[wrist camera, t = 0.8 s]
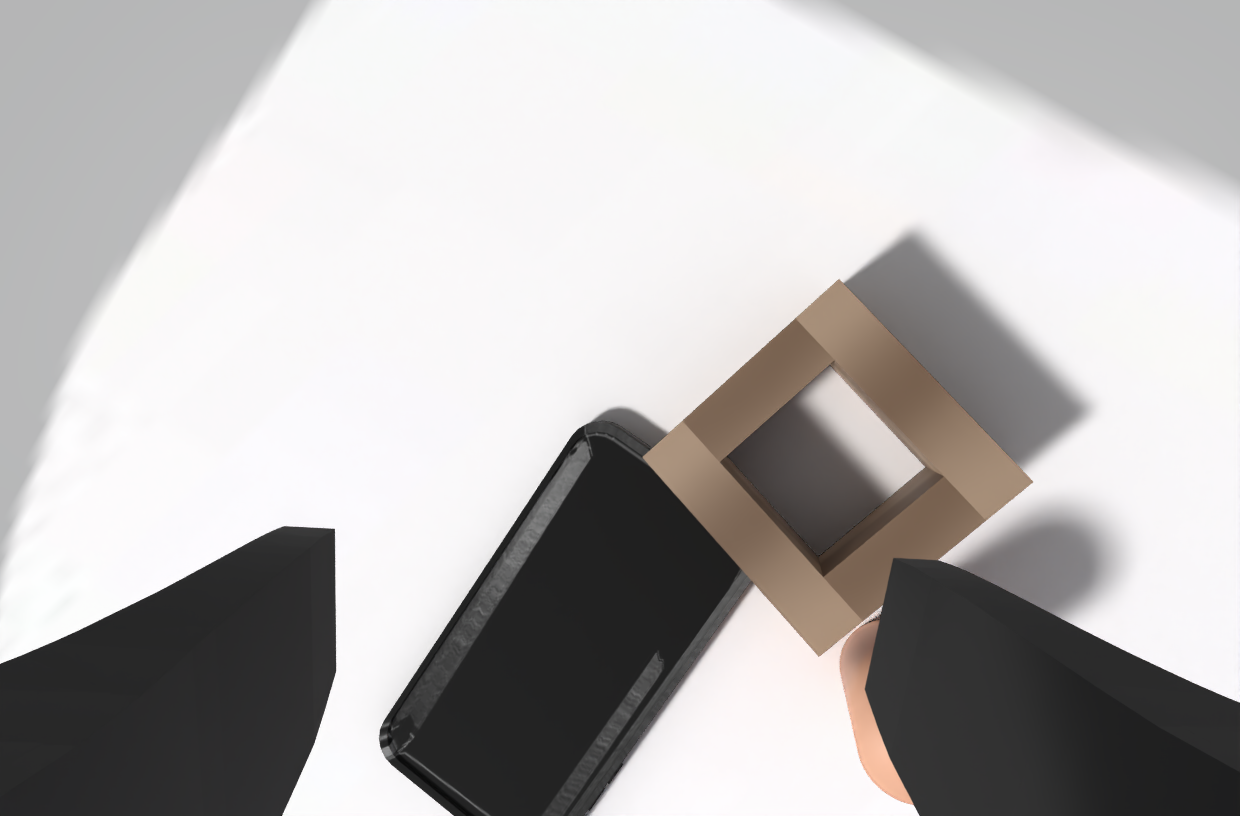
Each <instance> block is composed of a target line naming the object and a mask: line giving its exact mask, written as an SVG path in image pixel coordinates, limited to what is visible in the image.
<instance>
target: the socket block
mask: <svg viewBox="0 0 1240 816" xmlns="http://www.w3.org/2000/svg"><path fill="white" fill-rule="evenodd" d="M829 365H830V366H831V367H832V368H833V369H834V370H835V371H836V372H837V373H838V374H839V375H840V377H841V378H842V379H843V380H844V381H845V382H846V383H847V384H848V385H849V386H850V387H851V388H852V389H853V390H854V391H855V392H856V394H857V395H858V396H859V397H860V398H861V399H862V400H863V401H864V402H865V403H866V404H867V405H868V406H869V407H870V408H871V410H872V411H873V412H874V413H875V414H876V415H877V416H878V417H879V418H880V419H881V420H882V421H883V422H884V423H885V424H886V425H887V427H888V428H889V429H890V430H891V431H892V432H893V433H894V434H895V435H896V436H897V437H898V438H899V439H900V440H901V441H902V442H903V444H904V445H905V446H906V447H907V448H908V449H909V450H910V451H911V452H912V453H913V454H914V455H915V456H916V457H917V458H918V460H919V461H920V462H921V463H922V464H923V465H924V466H925V468H924V469H923V470H922V471H921V472H919V473H918V474H917V475H916V476H915V477H913V478H912V479H911V480H910V481H909V482H907V483H906V484H905V485H904V486H903V487H901V488H900V489H899V490H898V491H897V492H896V493H894V494H893V495H892V496H891V497H890V498H888V499H887V500H886V501H885V502H884V503H882V504H881V505H880V506H879V507H878V508H876V509H875V510H874V511H873V512H872V513H871V514H869V515H868V516H867V517H866V518H865V519H863V520H862V521H861V522H860V523H859V524H857V525H856V526H855V527H854V528H853V529H852V530H850V531H849V532H848V533H847V534H846V535H844V536H843V537H842V538H841V539H840V540H838V541H837V542H836V543H835V544H834V545H832V546H831V547H830V548H829V549H828V550H827V551H825V552H824V553H823V554H822V555H821V556H819V557H818V556H817V555H816V554H815V553H814V552H813V551H812V550H811V549H810V548H809V546H808V545H807V544H806V543H805V542H804V541H803V540H802V539H801V538H800V537H799V535H798V534H797V533H796V532H795V531H794V530H793V529H792V528H791V527H790V525H789V524H788V523H787V522H786V521H785V520H784V519H783V518H782V517H781V515H780V514H779V513H778V512H777V511H776V510H775V509H774V508H773V507H772V506H771V504H770V503H769V502H768V501H767V500H766V499H765V498H764V497H763V496H762V494H761V493H760V492H759V491H758V490H757V489H756V488H755V487H754V486H753V484H752V483H751V482H750V481H749V480H748V479H747V478H746V477H745V476H744V474H743V473H742V472H741V471H740V470H739V469H738V468H737V467H736V466H735V465H734V463H733V462H732V461H731V460H730V459H729V458H728V457H727V455H728V454H729V453H731V452H732V451H733V450H734V449H735V448H736V447H737V446H738V445H740V444H741V443H742V442H743V441H744V440H745V439H746V438H747V437H749V436H750V435H751V434H752V433H753V432H754V431H755V430H756V429H758V428H759V427H760V426H761V425H762V424H763V423H764V422H765V421H767V420H768V419H769V418H770V417H771V416H772V415H773V414H775V413H776V412H777V411H778V410H779V409H780V408H781V407H782V406H784V405H785V404H786V403H787V402H788V401H789V400H790V399H791V398H793V397H794V396H795V395H796V394H797V393H798V392H799V391H800V390H802V389H803V388H804V387H805V386H806V385H807V384H808V383H809V382H811V381H812V380H813V379H814V378H815V377H816V376H817V375H818V374H820V373H821V372H822V371H823V370H824V369H825V368H826V367H828V366H829ZM642 458H643V459H644V460H645V461H646V462H647V463H648V464H649V466H650V467H651V468H652V469H653V470H654V471H655V472H656V473H657V475H658V476H659V477H660V478H661V479H662V480H663V481H664V482H665V484H666V485H667V486H668V487H669V488H670V489H671V490H672V491H673V493H674V494H675V495H676V496H677V497H678V498H679V499H680V501H681V502H682V503H683V504H684V505H685V506H686V507H687V508H688V510H689V511H690V512H691V513H692V514H693V515H694V516H695V517H696V519H697V520H698V521H699V522H700V523H701V524H702V525H703V526H704V528H705V529H706V530H707V531H708V532H709V533H710V534H711V535H712V537H713V538H714V539H715V540H716V541H717V542H718V543H719V545H720V546H721V547H722V548H723V549H724V550H725V551H726V552H727V554H728V555H729V556H730V557H731V558H732V559H733V560H734V561H735V563H736V564H737V565H738V566H739V567H740V568H741V569H742V570H743V572H744V573H745V574H746V575H747V576H748V577H749V578H750V579H751V581H752V582H753V583H754V584H755V585H756V586H757V587H758V589H759V590H760V591H761V592H762V593H763V594H764V595H765V596H766V598H767V599H768V600H769V601H770V602H771V603H772V604H773V605H774V607H775V608H776V609H777V610H778V611H779V612H780V613H781V614H782V616H783V617H784V618H785V619H786V620H787V621H788V622H789V623H790V625H791V626H792V627H793V628H794V629H795V630H796V631H797V633H798V634H799V635H800V636H801V637H802V638H803V639H804V640H805V642H806V643H807V644H808V645H809V646H810V647H811V648H812V649H813V651H814V652H815V653H816V654H817V655H818V656H821V655H822V654H823V653H824V652H826V651H827V650H828V649H829V648H830V647H832V646H833V645H834V644H835V643H837V642H838V641H839V640H840V639H842V638H843V637H844V636H845V635H846V634H848V633H849V632H850V631H851V630H853V629H854V628H855V627H856V626H857V625H859V624H860V623H861V622H862V621H864V620H865V619H866V618H867V617H868V616H870V615H871V614H872V613H873V612H875V611H876V610H877V609H878V608H880V607H881V606H882V605H883V602H884V598H885V593H886V589H887V584H888V580H889V575H890V570H891V566H892V561H893V558H907V559H926V560H938V559H940V558H941V557H942V556H943V555H944V554H946V553H947V552H948V551H949V550H951V549H952V548H953V547H954V546H956V545H957V544H958V543H959V542H960V541H962V540H963V539H964V538H965V537H967V536H968V535H969V534H970V533H971V532H973V531H974V530H975V529H976V528H978V527H979V526H980V525H981V524H982V523H984V522H985V521H986V520H987V519H989V518H990V517H991V516H992V515H994V514H995V513H996V512H997V511H998V510H1000V509H1001V508H1002V507H1003V506H1005V505H1006V504H1007V503H1008V502H1009V501H1011V500H1012V499H1013V498H1014V497H1016V496H1017V495H1018V494H1019V493H1020V492H1022V491H1023V490H1024V489H1025V488H1027V487H1028V486H1029V485H1030V484H1032V483H1033V481H1032V480H1031V479H1030V478H1029V477H1028V476H1027V475H1026V474H1025V473H1024V472H1023V470H1022V469H1021V468H1020V467H1019V466H1018V465H1017V464H1016V463H1015V462H1014V461H1013V460H1012V459H1011V458H1010V457H1009V456H1008V455H1007V454H1006V453H1005V452H1004V451H1003V450H1002V449H1001V448H1000V446H999V445H998V444H997V443H996V442H995V441H994V440H993V439H992V438H991V437H990V436H989V435H988V434H987V433H986V432H985V431H984V430H983V429H982V428H981V427H980V426H979V425H978V424H977V422H976V421H975V420H974V419H973V418H972V417H971V416H970V415H969V414H968V413H967V412H966V411H965V410H964V409H963V408H962V407H961V406H960V405H959V404H958V403H957V402H956V401H955V400H954V398H953V397H952V396H951V395H950V394H949V393H948V392H947V391H946V390H945V389H944V388H943V387H942V386H941V385H940V384H939V383H938V382H937V381H936V380H935V379H934V378H933V377H932V376H931V374H930V373H929V372H928V371H927V370H926V369H925V368H924V367H923V366H922V365H921V364H920V363H919V362H918V361H917V360H916V359H915V358H914V357H913V356H912V355H911V354H910V353H909V351H908V350H907V349H906V348H905V347H904V346H903V345H902V344H901V343H900V342H899V341H898V340H897V339H896V338H895V337H894V336H893V335H892V334H891V333H890V332H889V331H888V330H887V329H886V327H885V326H884V325H883V324H882V323H881V322H880V321H879V320H878V319H877V318H876V317H875V316H874V315H873V314H872V313H871V312H870V311H869V310H868V309H867V308H866V307H865V306H864V305H863V303H862V302H861V301H860V300H859V299H858V298H857V297H856V296H855V295H854V294H853V293H852V292H851V291H850V290H849V289H848V288H847V287H846V286H845V285H844V284H843V283H842V282H841V281H840V279H839V280H837V281H836V282H835V283H834V284H833V285H832V286H831V287H830V288H829V289H827V290H826V291H825V292H824V293H823V294H822V295H821V296H820V297H819V298H818V299H816V300H815V301H814V302H813V303H812V304H811V305H810V306H809V307H808V308H807V309H805V310H804V311H803V312H802V313H801V314H800V315H799V316H798V317H797V318H795V319H794V320H793V321H792V322H791V323H790V324H789V325H788V326H787V327H786V328H784V329H783V330H782V331H781V332H780V333H779V334H778V335H777V336H776V337H775V338H773V339H772V340H771V341H770V342H769V343H768V344H767V345H766V346H765V347H763V348H762V349H761V350H760V351H759V352H758V353H757V354H756V355H755V356H754V357H752V358H751V359H750V360H749V361H748V362H747V363H746V364H745V365H744V366H742V367H741V368H740V369H739V370H738V371H737V372H736V373H735V374H734V375H733V376H731V377H730V378H729V379H728V380H727V381H726V382H725V383H724V384H723V385H722V386H720V387H719V388H718V389H717V390H716V391H715V392H714V393H713V394H712V395H710V396H709V397H708V398H707V399H706V400H705V401H704V402H703V403H702V404H701V405H699V406H698V407H697V408H696V409H695V410H694V411H693V412H692V413H691V414H690V415H688V416H687V417H686V418H685V419H684V420H683V421H682V422H681V423H680V424H678V425H677V426H676V427H675V428H674V429H673V430H672V431H671V432H670V433H669V434H667V435H666V436H665V437H664V438H663V439H662V440H661V441H660V442H659V443H657V444H656V445H655V446H654V447H653V448H652V449H651V450H650V451H649V452H648V453H646V454H645V455H644V456H643V457H642Z"/></svg>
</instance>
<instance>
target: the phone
mask: <svg viewBox="0 0 1240 816" xmlns="http://www.w3.org/2000/svg"><path fill="white" fill-rule="evenodd" d="M651 449H652V448H651V447H650V446H649V445H647V444H646V443H644V442H643V441H641V440H640V439H638V438H637V437H636V436H634V435H633V434H631V433H630V432H628V431H627V430H626V429H624V428H623V427H621V426H619V425H617V424H615V423H613V422H607V421H599V422H594V423H588V424H586V425H584V426H582V427H581V428H579V429H578V430H577V431H576V432H575V433H574V434H573V435H572V436H571V438H570V439H569V441H568V442H567V444H566V445H565V447H564V448H563V450H562V452H561V453H560V455H559V456H558V458H557V459H556V461H555V462H554V464H553V465H552V467H551V468H550V470H549V471H548V473H547V474H546V476H545V477H544V479H543V480H542V482H541V483H540V485H539V486H538V488H537V489H536V491H535V492H534V494H533V496H532V497H531V499H530V500H529V502H528V503H527V505H526V506H525V508H524V509H523V511H522V512H521V514H520V515H519V517H518V518H517V520H516V521H515V523H514V524H513V526H512V527H511V529H510V530H509V532H508V533H507V535H506V536H505V538H504V540H503V541H502V543H501V544H500V546H499V547H498V549H497V550H496V552H495V553H494V555H493V556H492V558H491V559H490V561H489V562H488V564H487V565H486V567H485V568H484V570H483V571H482V573H481V574H480V576H479V577H478V579H477V580H476V582H475V583H474V585H473V587H472V588H471V590H470V591H469V593H468V594H467V596H466V597H465V599H464V600H463V602H462V603H461V605H460V606H459V608H458V609H457V611H456V612H455V614H454V615H453V617H452V618H451V620H450V621H449V623H448V624H447V626H446V627H445V629H444V631H443V632H442V634H441V635H440V637H439V638H438V640H437V641H436V643H435V644H434V646H433V647H432V649H431V650H430V652H429V653H428V655H427V656H426V658H425V659H424V661H423V662H422V664H421V665H420V667H419V668H418V670H417V671H416V673H415V675H414V676H413V678H412V679H411V681H410V682H409V684H408V685H407V687H406V688H405V690H404V691H403V693H402V694H401V696H400V697H399V699H398V700H397V702H396V703H395V705H394V706H393V708H392V709H391V711H390V712H389V714H388V715H387V717H386V718H385V720H384V722H383V724H382V726H381V729H380V735H379V741H380V747H381V750H382V752H383V754H384V756H385V758H386V759H387V760H388V761H389V762H390V763H391V765H392V766H394V767H395V768H396V769H397V770H399V771H400V772H401V773H402V774H403V775H405V776H406V777H407V778H408V779H410V780H411V781H412V782H413V783H414V784H416V785H417V786H418V787H419V788H421V789H422V790H423V791H424V792H425V793H427V794H428V795H429V796H430V797H432V798H433V799H434V800H435V801H436V802H438V803H439V804H440V805H441V806H443V807H444V808H445V809H446V810H447V811H449V812H450V813H451V814H452V815H454V816H584V815H585V813H586V812H587V811H588V810H589V811H590V809H591V808H592V806H593V805H594V804H595V802H596V801H597V799H598V798H599V797H600V795H601V794H602V792H603V791H604V789H605V788H604V787H605V785H606V784H607V783H608V784H609V783H610V782H611V781H612V779H613V778H614V776H615V775H616V774H617V772H618V771H619V769H620V768H621V767H622V765H623V763H622V762H623V760H624V759H625V757H626V756H627V755H628V753H629V752H630V750H631V749H632V747H633V746H634V745H635V743H636V742H637V740H638V739H639V738H640V736H641V735H642V733H643V732H644V731H645V729H646V728H647V726H648V725H649V724H650V722H651V721H652V719H653V718H654V717H655V715H656V714H657V712H658V711H659V710H660V708H661V707H662V705H663V704H664V703H665V701H666V700H667V698H668V697H669V696H670V694H671V693H672V691H673V690H674V689H675V687H676V686H677V684H678V683H679V682H680V680H681V679H682V677H683V676H684V674H685V673H686V672H687V670H688V669H689V667H690V666H691V665H692V663H693V662H694V660H695V659H696V658H697V656H698V655H699V653H700V652H701V651H702V649H703V648H704V646H705V645H706V644H707V642H708V641H709V639H710V638H711V637H712V635H713V634H714V632H715V631H716V630H717V628H718V627H719V625H720V624H721V623H722V621H723V620H724V618H725V617H726V616H727V614H728V613H729V611H730V610H731V609H732V607H733V606H734V604H735V603H736V601H737V600H738V599H739V597H740V596H741V594H742V593H743V592H744V590H745V589H746V587H747V586H748V585H749V583H750V582H751V579H750V578H749V577H748V576H747V575H746V574H745V573H744V572H743V570H742V569H741V568H740V567H739V566H738V565H737V564H736V563H735V561H734V560H733V559H732V558H731V557H730V556H729V555H728V554H727V552H726V551H725V550H724V549H723V548H722V547H721V546H720V545H719V543H718V542H717V541H716V540H715V539H714V538H713V537H712V535H711V534H710V533H709V532H708V531H707V530H706V529H705V528H704V526H703V525H702V524H701V523H700V522H699V521H698V520H697V519H696V517H695V516H694V515H693V514H692V513H691V512H690V511H689V510H688V508H687V507H686V506H685V505H684V504H683V503H682V502H681V501H680V499H679V498H678V497H677V496H676V495H675V494H674V493H673V491H672V490H671V489H670V488H669V487H668V486H667V485H666V484H665V482H664V481H663V480H662V479H661V478H660V477H659V476H658V475H657V473H656V472H655V471H654V470H653V469H652V468H651V467H650V466H649V464H648V463H647V462H646V461H645V460H644V459H643V458H642V457H643V456H644V455H645V454H646V453H648V452H649V451H650V450H651Z"/></svg>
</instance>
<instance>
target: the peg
mask: <svg viewBox="0 0 1240 816" xmlns="http://www.w3.org/2000/svg"><path fill="white" fill-rule="evenodd" d="M879 621H880V620H877V621H872V622H870V623H867V624H865V625H863V626H861V627H860V628H858V629H857V630H856V631H854V632H853V633H852V634H851V635H850V637H849V638H848V639H847V641H846V643H845V644H844V647H843V649H842V652H841V656H840V673H841V678H842V683H843V687H844V692H845V696H846V701H847V705H848V710H849V714H850V719H851V723H852V728H853V732H854V737H855V741H856V746H857V750H858V754H859V758H860V761H861V763H862V765H863V768H864V769H865V771H866V773H867V775H868V776H869V777H870V779H871V780H872V781H873V782H874V783H875V784H876V785H877V786H878V787H879V788H880V789H881V790H882V791H884V792H885V793H886V794H888V795H890V796H891V797H893V798H895V799H897V800H899V801H902V802H905V803H908V804H912V805H914V804H913V802H912V800H911V798H910V796H909V795H908V793H907V791H906V789H905V787H904V785H903V783H902V781H901V779H900V778H899V776H898V774H897V772H896V770H895V768H894V766H893V764H892V762H891V760H890V758H889V755H888V753H887V750H886V748H885V745H884V742H883V740H882V737H881V735H880V732H879V730H878V727H877V724H876V721H875V718H874V715H873V712H872V710H871V707H870V704H869V701H868V698H867V695H866V692H865V685H866V680H867V676H868V671H869V666H870V662H871V657H872V653H873V648H874V644H875V639H876V634H877V630H878V625H879Z"/></svg>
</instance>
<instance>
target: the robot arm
mask: <svg viewBox="0 0 1240 816" xmlns="http://www.w3.org/2000/svg"><path fill="white" fill-rule="evenodd" d="M335 673H336V604H335V529H327V528H308V527H288V526H283V527H281V528H278V529H276V530H273V531H271V532H269V533H267V534H265V535H263V536H261V537H259V538H257V539H255V540H253V541H251V542H249V543H247V544H246V545H244V546H242V547H240V548H238V549H236V550H235V551H233V552H231V553H229V554H227V555H225V556H224V557H222V558H220V559H218V560H216V561H214V562H213V563H211V564H209V565H207V566H205V567H203V568H201V569H200V570H198V571H196V572H194V573H192V574H190V575H188V576H187V577H185V578H183V579H181V580H179V581H177V582H175V583H174V584H172V585H170V586H168V587H166V588H164V589H162V590H160V591H158V592H157V593H155V594H152V595H150V596H148V597H146V598H144V599H142V600H140V601H138V602H136V603H134V604H132V605H130V606H128V607H126V608H124V609H122V610H120V611H118V612H116V613H114V614H112V615H109V616H107V617H105V618H103V619H101V620H99V621H97V622H95V623H93V624H91V625H89V626H87V627H85V628H83V629H81V630H79V631H77V632H75V633H72V634H70V635H68V636H66V637H63V638H61V639H59V640H57V641H54V642H52V643H50V644H47V645H45V646H43V647H40V648H38V649H36V650H33V651H31V652H29V653H26V654H24V655H22V656H19V657H17V658H14V659H11V660H9V661H6V662H4V663H1V664H0V816H282V815H283V812H284V810H285V808H286V806H287V804H288V801H289V799H290V797H291V795H292V792H293V790H294V788H295V786H296V784H297V781H298V779H299V777H300V775H301V772H302V770H303V768H304V766H305V764H306V761H307V759H308V757H309V754H310V752H311V750H312V748H313V745H314V743H315V739H316V736H317V733H318V730H319V727H320V724H321V720H322V717H323V714H324V711H325V708H326V704H327V701H328V697H329V694H330V690H331V687H332V684H333V680H334V677H335ZM865 692H866V695H867V698H868V701H869V704H870V707H871V710H872V712H873V715H874V718H875V721H876V724H877V727H878V730H879V732H880V735H881V737H882V740H883V742H884V745H885V748H886V750H887V753H888V755H889V758H890V760H891V762H892V764H893V766H894V768H895V770H896V772H897V774H898V776H899V778H900V779H901V781H902V783H903V785H904V787H905V789H906V791H907V793H908V795H909V796H910V798H911V800H912V802H913V804H914V806H915V808H916V810H917V812H918V814H919V815H920V816H1240V703H1239V702H1237V701H1234V700H1232V699H1229V698H1227V697H1224V696H1222V695H1220V694H1217V693H1215V692H1213V691H1211V690H1208V689H1206V688H1204V687H1201V686H1199V685H1197V684H1194V683H1192V682H1190V681H1188V680H1186V679H1183V678H1181V677H1179V676H1177V675H1175V674H1173V673H1171V672H1168V671H1166V670H1164V669H1162V668H1160V667H1158V666H1156V665H1154V664H1151V663H1149V662H1147V661H1145V660H1143V659H1141V658H1139V657H1137V656H1134V655H1132V654H1130V653H1128V652H1126V651H1124V650H1122V649H1120V648H1118V647H1116V646H1114V645H1112V644H1110V643H1108V642H1106V641H1104V640H1102V639H1100V638H1098V637H1096V636H1094V635H1092V634H1090V633H1088V632H1086V631H1084V630H1082V629H1080V628H1078V627H1076V626H1074V625H1072V624H1070V623H1068V622H1066V621H1064V620H1063V619H1061V618H1059V617H1057V616H1055V615H1053V614H1051V613H1049V612H1047V611H1045V610H1043V609H1041V608H1039V607H1037V606H1035V605H1033V604H1032V603H1030V602H1028V601H1026V600H1024V599H1022V598H1020V597H1018V596H1016V595H1014V594H1012V593H1010V592H1008V591H1006V590H1004V589H1002V588H1000V587H998V586H996V585H994V584H992V583H990V582H988V581H986V580H984V579H982V578H980V577H978V576H976V575H974V574H971V573H969V572H967V571H965V570H962V569H960V568H958V567H955V566H953V565H950V564H947V563H944V562H942V561H939V560H926V559H907V558H893V561H892V566H891V570H890V575H889V580H888V584H887V589H886V593H885V598H884V602H883V607H882V612H881V616H880V621H879V625H878V630H877V634H876V639H875V644H874V648H873V653H872V657H871V662H870V666H869V671H868V676H867V680H866V685H865Z"/></svg>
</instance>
